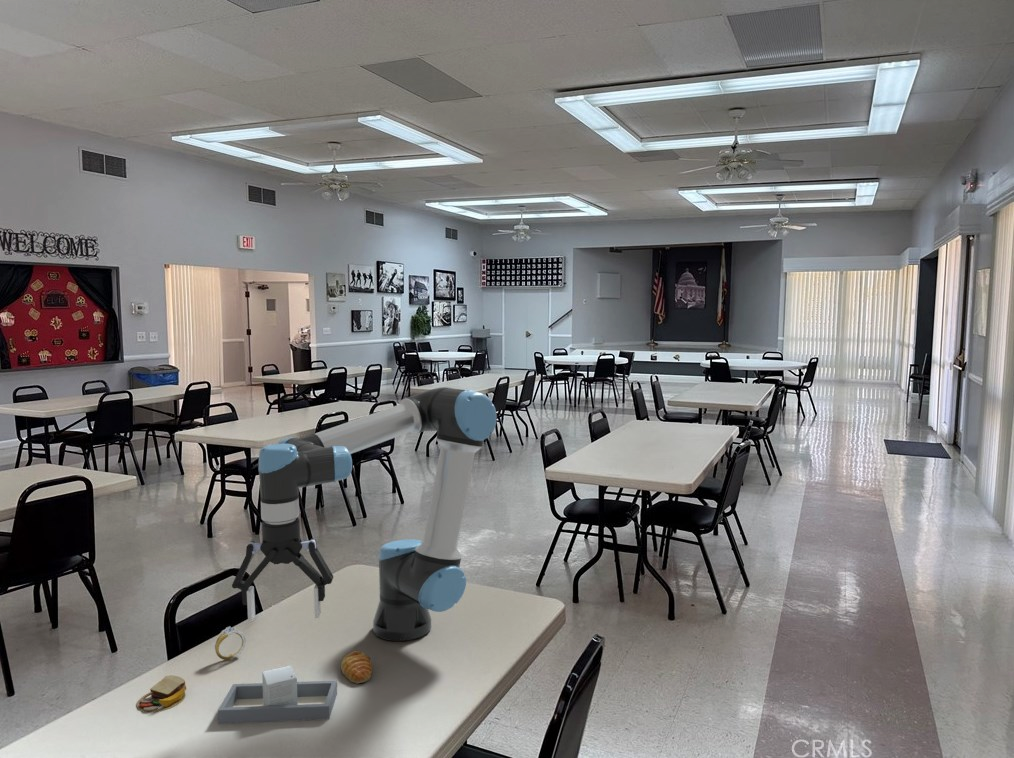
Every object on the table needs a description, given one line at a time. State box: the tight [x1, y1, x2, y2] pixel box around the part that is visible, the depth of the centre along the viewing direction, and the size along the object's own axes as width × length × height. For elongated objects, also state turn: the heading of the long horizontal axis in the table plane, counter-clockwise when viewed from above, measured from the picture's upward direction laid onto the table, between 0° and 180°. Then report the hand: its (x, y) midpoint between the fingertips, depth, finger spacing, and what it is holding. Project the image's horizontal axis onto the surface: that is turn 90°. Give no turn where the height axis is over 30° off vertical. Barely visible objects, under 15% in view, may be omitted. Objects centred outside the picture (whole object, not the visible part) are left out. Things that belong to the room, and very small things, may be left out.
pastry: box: [340, 650, 373, 684], centre depth 160 cm, size 9×7×4 cm
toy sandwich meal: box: [136, 674, 187, 713], centre depth 150 cm, size 9×10×4 cm
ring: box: [214, 625, 247, 661], centre depth 167 cm, size 7×3×8 cm, turn 122°
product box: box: [261, 665, 298, 706], centre depth 146 cm, size 6×6×7 cm
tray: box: [217, 680, 338, 725], centre depth 146 cm, size 22×10×4 cm, turn 95°
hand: (284, 617), depth 147 cm, fingers open, 13 cm apart
